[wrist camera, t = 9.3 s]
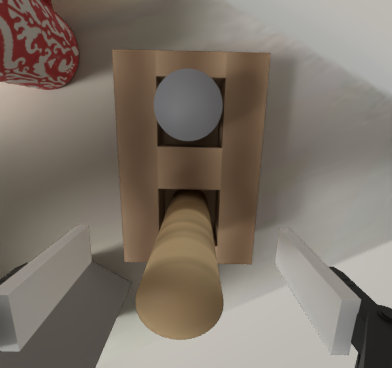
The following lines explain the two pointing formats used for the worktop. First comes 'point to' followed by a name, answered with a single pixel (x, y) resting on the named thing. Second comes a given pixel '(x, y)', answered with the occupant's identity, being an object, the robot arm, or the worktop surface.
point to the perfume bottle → (74, 324)
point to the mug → (35, 45)
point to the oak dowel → (182, 272)
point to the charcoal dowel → (188, 104)
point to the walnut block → (190, 148)
